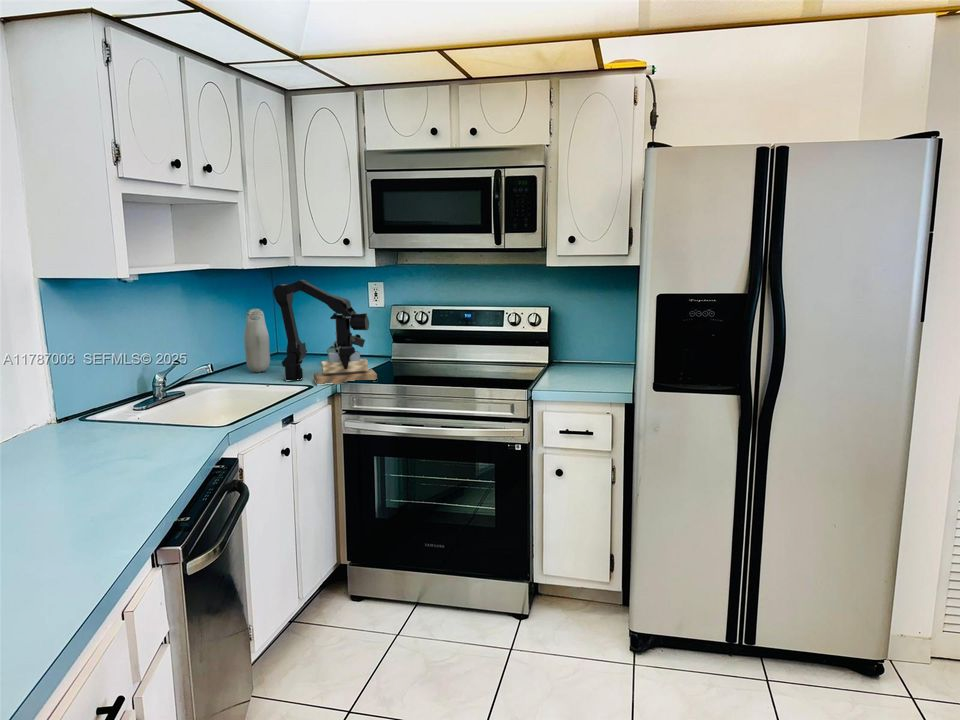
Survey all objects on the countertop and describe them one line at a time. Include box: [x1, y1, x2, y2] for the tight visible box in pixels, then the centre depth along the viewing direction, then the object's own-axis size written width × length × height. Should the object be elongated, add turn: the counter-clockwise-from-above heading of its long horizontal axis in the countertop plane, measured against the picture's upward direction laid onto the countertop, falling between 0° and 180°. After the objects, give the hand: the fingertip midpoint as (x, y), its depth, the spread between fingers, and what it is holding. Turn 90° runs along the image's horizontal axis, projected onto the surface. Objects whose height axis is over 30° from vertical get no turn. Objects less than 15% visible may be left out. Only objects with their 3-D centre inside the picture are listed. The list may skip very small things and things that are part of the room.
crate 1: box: [327, 352, 340, 363], centre depth 281 cm, size 4×4×4 cm
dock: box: [313, 368, 378, 386], centre depth 283 cm, size 24×11×3 cm, turn 109°
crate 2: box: [349, 350, 361, 362], centre depth 283 cm, size 4×4×4 cm
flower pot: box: [326, 345, 337, 360], centre depth 315 cm, size 9×9×9 cm
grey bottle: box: [243, 308, 271, 373], centre depth 302 cm, size 10×10×28 cm
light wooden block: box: [321, 358, 369, 374], centre depth 283 cm, size 18×6×4 cm, turn 109°
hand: (344, 367), depth 283 cm, fingers closed on light wooden block, 5 cm apart
